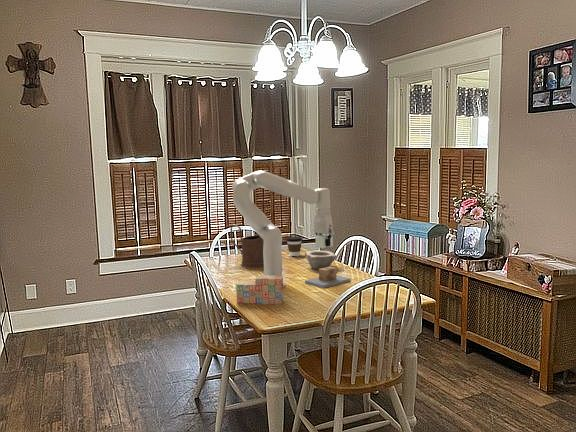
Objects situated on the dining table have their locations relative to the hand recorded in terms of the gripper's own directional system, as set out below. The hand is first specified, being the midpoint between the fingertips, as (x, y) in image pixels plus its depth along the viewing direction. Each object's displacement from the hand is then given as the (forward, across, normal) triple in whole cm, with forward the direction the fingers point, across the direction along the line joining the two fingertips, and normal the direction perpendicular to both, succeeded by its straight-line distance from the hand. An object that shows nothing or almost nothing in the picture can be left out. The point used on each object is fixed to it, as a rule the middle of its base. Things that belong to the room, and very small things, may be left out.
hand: (324, 245), depth 278 cm
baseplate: (+20, +2, 0) cm, 20 cm away
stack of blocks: (+20, +5, -48) cm, 52 cm away
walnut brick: (+18, +2, 0) cm, 18 cm away
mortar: (+20, -24, +20) cm, 37 cm away
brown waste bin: (+20, -62, -3) cm, 65 cm away
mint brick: (+1, 0, 0) cm, 1 cm away
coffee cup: (+20, -62, +34) cm, 74 cm away
